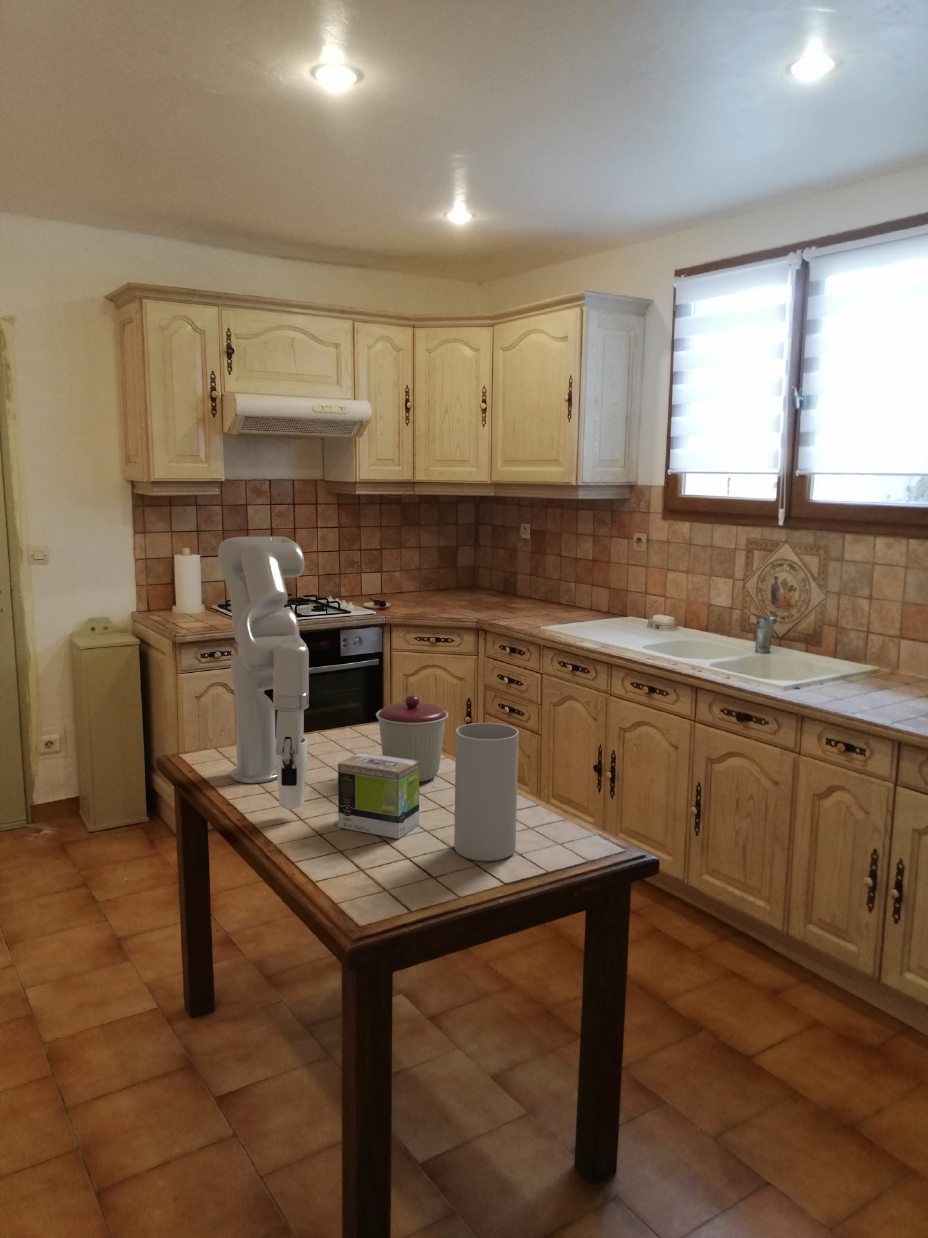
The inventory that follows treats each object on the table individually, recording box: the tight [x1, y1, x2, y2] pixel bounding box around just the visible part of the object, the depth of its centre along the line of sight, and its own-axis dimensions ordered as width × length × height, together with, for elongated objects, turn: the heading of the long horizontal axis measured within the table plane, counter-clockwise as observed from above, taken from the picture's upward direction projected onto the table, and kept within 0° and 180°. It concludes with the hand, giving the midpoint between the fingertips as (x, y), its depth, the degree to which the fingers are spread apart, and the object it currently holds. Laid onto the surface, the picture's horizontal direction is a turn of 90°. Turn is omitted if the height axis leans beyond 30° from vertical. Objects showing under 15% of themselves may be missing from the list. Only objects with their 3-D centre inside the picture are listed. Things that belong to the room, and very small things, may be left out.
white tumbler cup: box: [276, 736, 308, 810], centre depth 197 cm, size 7×7×15 cm
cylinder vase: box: [453, 722, 520, 862], centre depth 182 cm, size 12×12×25 cm
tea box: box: [337, 751, 420, 840], centre depth 194 cm, size 15×10×15 cm, turn 65°
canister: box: [375, 695, 449, 783], centre depth 226 cm, size 18×18×21 cm
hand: (291, 778), depth 197 cm, fingers closed on white tumbler cup, 6 cm apart
